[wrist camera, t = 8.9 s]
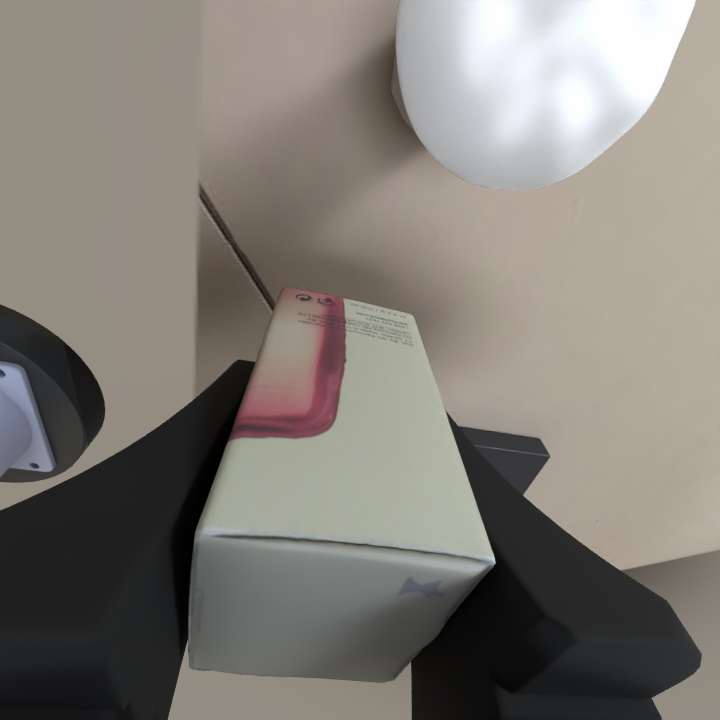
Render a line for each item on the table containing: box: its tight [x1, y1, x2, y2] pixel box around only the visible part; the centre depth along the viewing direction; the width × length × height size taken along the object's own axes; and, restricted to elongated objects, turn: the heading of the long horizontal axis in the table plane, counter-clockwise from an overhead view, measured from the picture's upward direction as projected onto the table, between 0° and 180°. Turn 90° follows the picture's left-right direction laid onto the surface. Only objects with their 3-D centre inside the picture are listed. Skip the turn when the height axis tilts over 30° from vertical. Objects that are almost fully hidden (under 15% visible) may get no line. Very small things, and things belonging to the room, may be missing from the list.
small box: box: [188, 287, 496, 683], centre depth 9 cm, size 5×4×8 cm
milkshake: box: [391, 0, 695, 191], centre depth 8 cm, size 5×5×10 cm
